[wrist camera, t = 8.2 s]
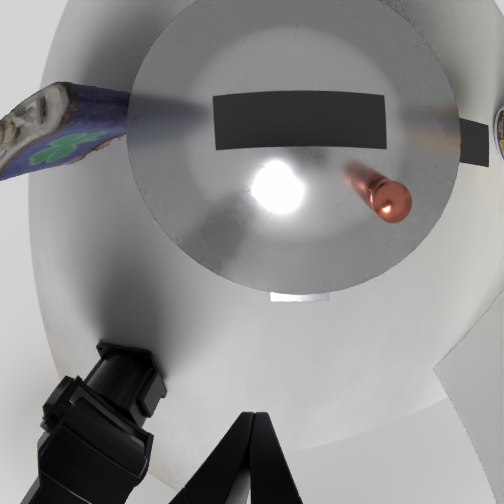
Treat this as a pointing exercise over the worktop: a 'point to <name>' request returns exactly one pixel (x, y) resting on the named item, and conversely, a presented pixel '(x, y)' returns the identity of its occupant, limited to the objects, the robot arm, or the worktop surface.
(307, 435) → the worktop surface
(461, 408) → the milk
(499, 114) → the supplement bottle
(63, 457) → the robot arm
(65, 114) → the flask
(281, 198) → the cooker lid
